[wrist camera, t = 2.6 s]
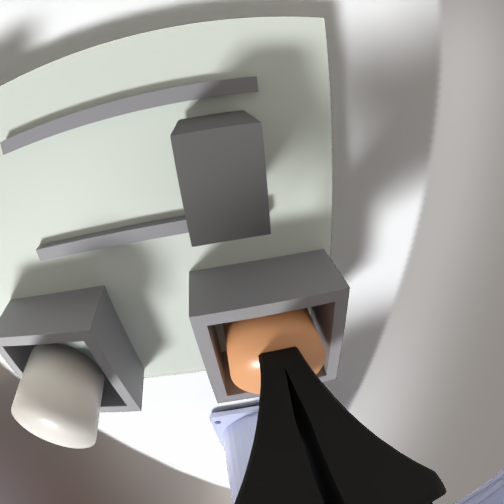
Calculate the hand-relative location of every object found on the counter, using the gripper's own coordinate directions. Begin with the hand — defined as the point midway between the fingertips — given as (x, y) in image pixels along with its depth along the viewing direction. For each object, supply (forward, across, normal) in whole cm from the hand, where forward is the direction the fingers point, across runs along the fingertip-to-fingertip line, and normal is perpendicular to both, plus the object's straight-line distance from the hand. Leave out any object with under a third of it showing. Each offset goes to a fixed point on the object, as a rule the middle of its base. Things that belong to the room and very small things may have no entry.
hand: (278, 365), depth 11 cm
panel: (+5, +6, -4) cm, 9 cm away
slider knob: (+3, +1, -7) cm, 8 cm away
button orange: (+3, 0, 0) cm, 3 cm away
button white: (+1, +9, 0) cm, 9 cm away
